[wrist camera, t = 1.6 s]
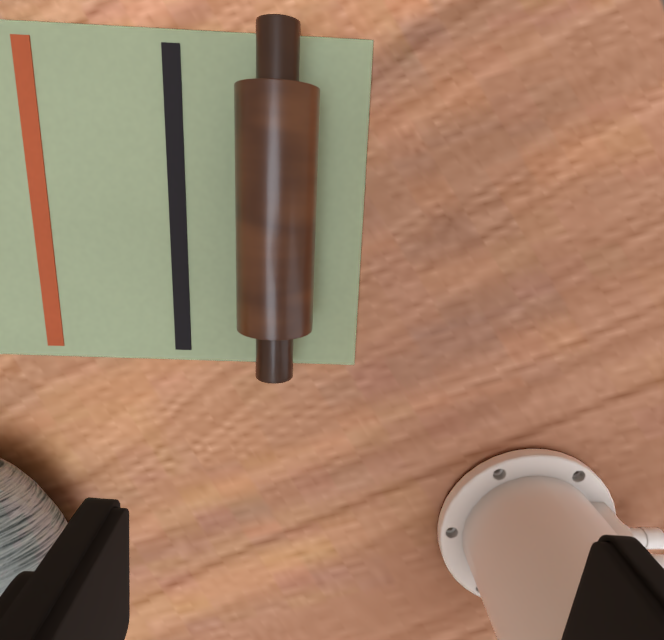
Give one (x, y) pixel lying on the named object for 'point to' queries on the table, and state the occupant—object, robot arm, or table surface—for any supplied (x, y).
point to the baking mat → (157, 191)
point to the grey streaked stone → (24, 523)
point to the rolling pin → (275, 198)
